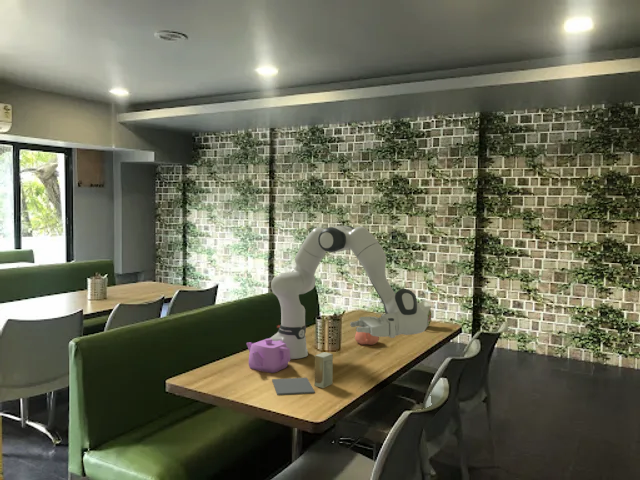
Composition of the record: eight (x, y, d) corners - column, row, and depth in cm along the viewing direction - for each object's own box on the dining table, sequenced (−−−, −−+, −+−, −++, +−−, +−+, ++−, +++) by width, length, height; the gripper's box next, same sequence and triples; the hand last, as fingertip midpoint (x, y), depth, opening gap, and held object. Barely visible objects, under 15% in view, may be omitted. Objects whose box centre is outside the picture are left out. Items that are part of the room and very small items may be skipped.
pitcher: (408, 329, 299) (409, 305, 298) (415, 323, 315) (416, 300, 315) (427, 331, 295) (428, 307, 294) (433, 325, 311) (434, 302, 310)
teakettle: (291, 372, 217) (292, 343, 217) (251, 374, 213) (251, 345, 212) (283, 360, 234) (284, 333, 233) (245, 362, 229) (246, 335, 229)
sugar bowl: (378, 340, 272) (379, 321, 271) (379, 347, 258) (379, 327, 258) (355, 339, 273) (355, 320, 273) (354, 346, 259) (354, 326, 259)
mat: (306, 379, 209) (306, 377, 209) (314, 393, 193) (314, 391, 193) (272, 380, 206) (272, 379, 206) (277, 395, 190) (277, 393, 190)
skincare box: (324, 381, 206) (324, 351, 205) (332, 384, 203) (333, 353, 202) (313, 386, 201) (314, 354, 200) (322, 388, 198) (323, 357, 197)
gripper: (379, 312, 215) (347, 314, 213) (395, 322, 195) (360, 324, 193) (380, 327, 216) (347, 329, 213) (396, 338, 195) (360, 341, 193)
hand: (353, 327), depth 203 cm, fingers open, 8 cm apart
